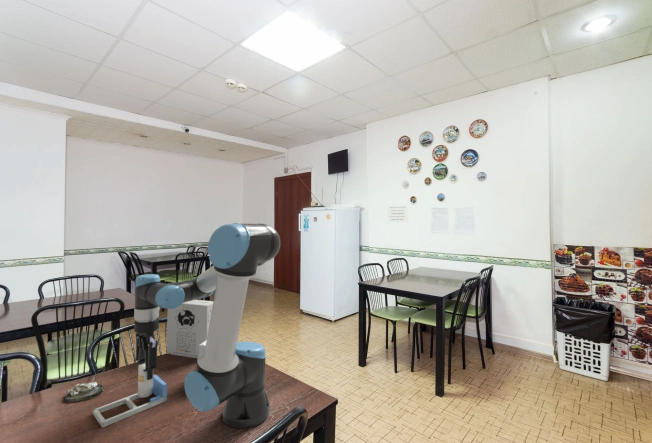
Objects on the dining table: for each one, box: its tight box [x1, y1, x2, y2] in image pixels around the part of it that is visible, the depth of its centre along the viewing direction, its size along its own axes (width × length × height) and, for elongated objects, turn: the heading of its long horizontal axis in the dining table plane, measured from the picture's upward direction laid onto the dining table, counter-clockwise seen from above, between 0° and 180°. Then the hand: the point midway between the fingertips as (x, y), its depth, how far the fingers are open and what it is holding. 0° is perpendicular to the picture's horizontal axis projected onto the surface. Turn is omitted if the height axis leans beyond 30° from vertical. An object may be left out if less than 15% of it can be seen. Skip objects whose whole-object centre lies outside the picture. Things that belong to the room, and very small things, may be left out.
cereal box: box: [166, 299, 214, 359], centre depth 148 cm, size 22×8×25 cm, turn 76°
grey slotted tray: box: [92, 374, 168, 429], centre depth 106 cm, size 19×10×6 cm, turn 140°
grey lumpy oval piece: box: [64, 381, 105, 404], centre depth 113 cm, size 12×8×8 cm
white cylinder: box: [137, 363, 153, 399], centre depth 109 cm, size 5×5×10 cm
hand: (145, 384), depth 109 cm, fingers closed on white cylinder, 5 cm apart
